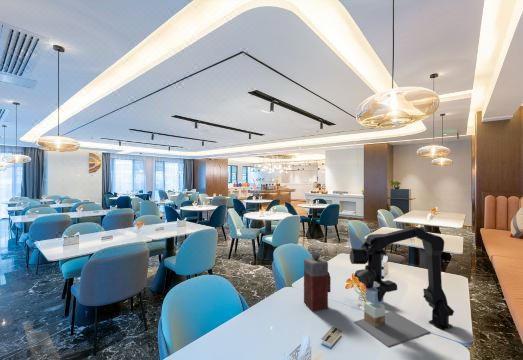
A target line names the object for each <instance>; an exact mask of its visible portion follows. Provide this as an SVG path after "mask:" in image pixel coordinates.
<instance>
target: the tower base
mask: <svg viewBox="0 0 523 360" xmlns="http://www.w3.org/2000/svg"><path fill="white" fill-rule="evenodd" d="M363 313H364V314H363V316H364V317H363V319H364V321H366V322H367V323H369V324H370V325H372V326H373V327H378V326H382V325H385V316H381V317H378V318H374V317H372V316H371V315H369V314H367V313H366V312H364V311H363Z"/></svg>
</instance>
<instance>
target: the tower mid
mask: <svg viewBox="0 0 523 360" xmlns="http://www.w3.org/2000/svg"><path fill="white" fill-rule="evenodd" d="M363 307H364V308H363V310H364V311H363V313H364V312H366V313H367V314H369V315H371V316H372V317H374V318H378V317H381V316H385V313H386V306H385V305H383V303H381V304H377V305H374V304H372V303H371V302H368V301H366V302H364V305H363Z"/></svg>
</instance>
